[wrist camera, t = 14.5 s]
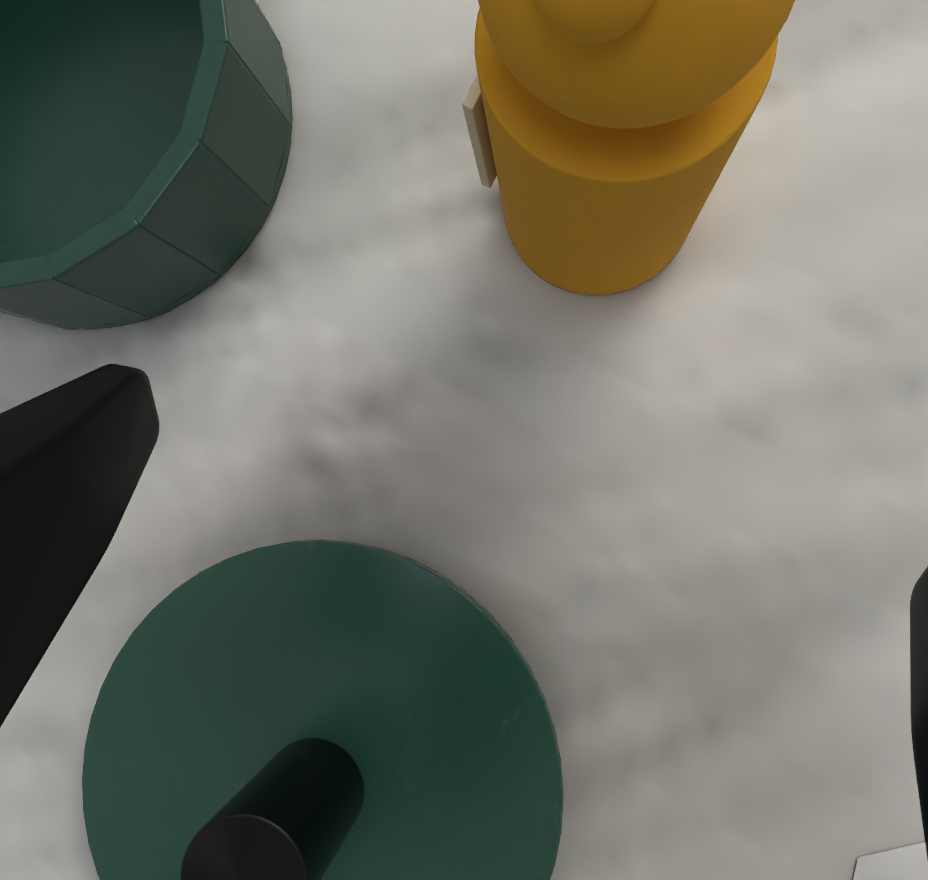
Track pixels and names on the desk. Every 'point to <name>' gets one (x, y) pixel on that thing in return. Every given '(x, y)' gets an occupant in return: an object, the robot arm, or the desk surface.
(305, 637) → the pot lid
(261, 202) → the pot
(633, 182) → the toy
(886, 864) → the heart sculpture
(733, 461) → the desk surface
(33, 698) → the desk surface
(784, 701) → the desk surface
